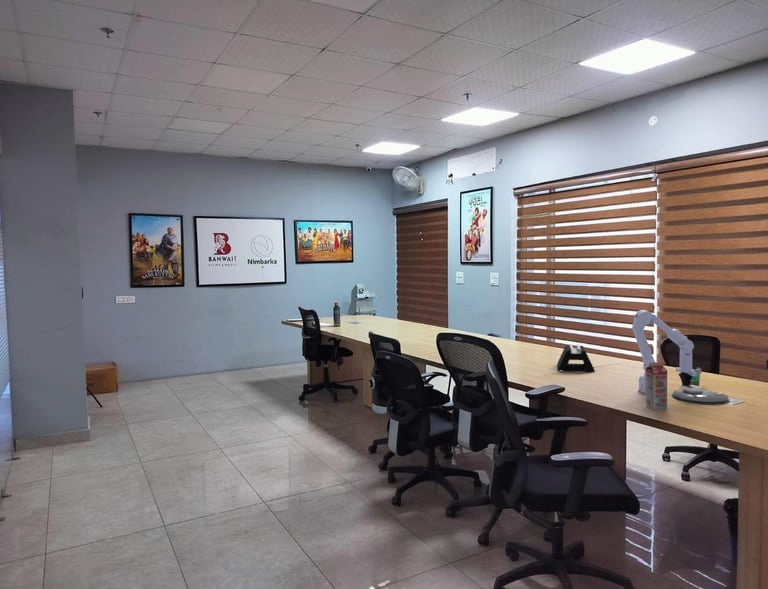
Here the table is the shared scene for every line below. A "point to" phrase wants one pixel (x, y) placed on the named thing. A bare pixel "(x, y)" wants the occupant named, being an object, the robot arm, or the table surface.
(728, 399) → the turntable base
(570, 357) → the device stand
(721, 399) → the turntable
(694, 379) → the food container
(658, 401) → the juice carton
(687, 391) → the cover
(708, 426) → the table surface
